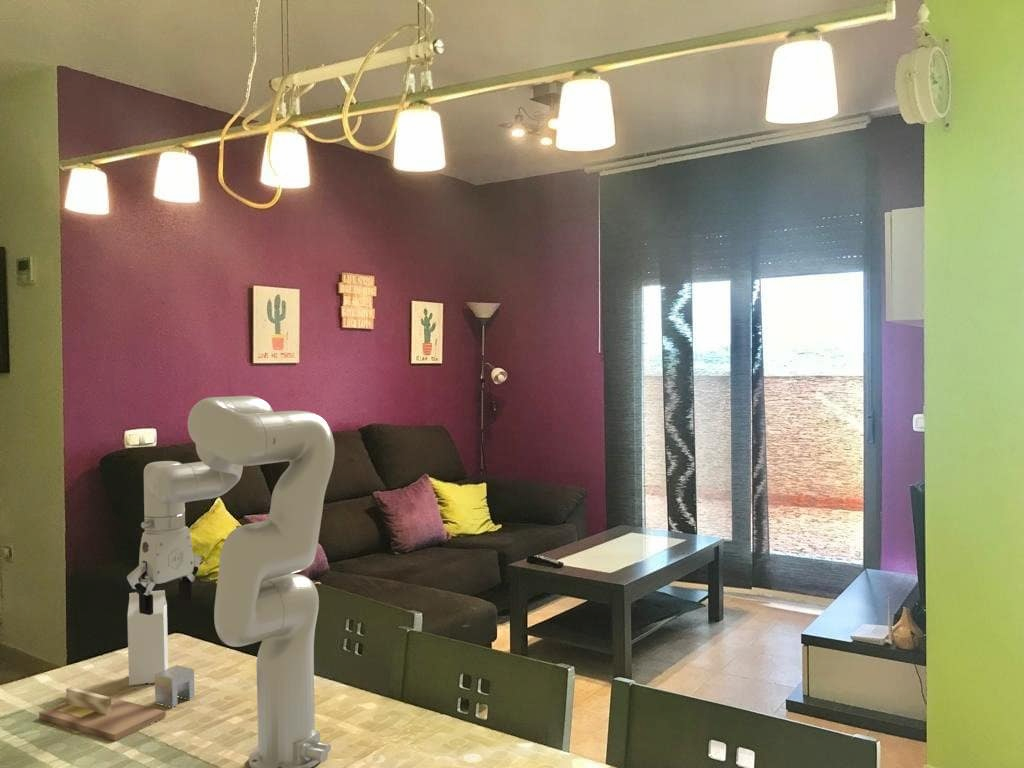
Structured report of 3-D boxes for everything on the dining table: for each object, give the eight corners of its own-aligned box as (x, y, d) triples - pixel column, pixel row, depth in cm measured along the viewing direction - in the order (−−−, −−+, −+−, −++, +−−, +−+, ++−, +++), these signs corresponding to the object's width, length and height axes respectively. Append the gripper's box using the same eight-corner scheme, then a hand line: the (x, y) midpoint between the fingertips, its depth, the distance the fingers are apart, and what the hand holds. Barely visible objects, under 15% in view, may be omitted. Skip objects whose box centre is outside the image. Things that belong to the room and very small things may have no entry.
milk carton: (133, 674, 182) (131, 589, 181) (168, 670, 184) (166, 586, 183) (129, 686, 175) (126, 597, 174) (165, 682, 177) (163, 594, 176)
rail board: (165, 717, 159) (165, 696, 159) (115, 741, 149) (114, 718, 149) (91, 697, 169) (90, 677, 169) (39, 718, 159) (38, 697, 159)
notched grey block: (194, 698, 168) (193, 669, 168) (172, 708, 164) (172, 678, 163) (177, 693, 171) (176, 665, 170) (155, 703, 166) (154, 674, 166)
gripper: (141, 533, 156) (143, 622, 157) (211, 517, 172) (212, 598, 172) (114, 529, 160) (116, 616, 160) (185, 514, 175) (187, 593, 176)
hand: (166, 607), depth 166 cm, fingers open, 9 cm apart
